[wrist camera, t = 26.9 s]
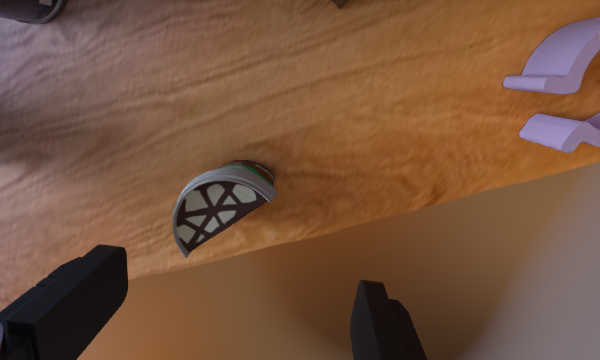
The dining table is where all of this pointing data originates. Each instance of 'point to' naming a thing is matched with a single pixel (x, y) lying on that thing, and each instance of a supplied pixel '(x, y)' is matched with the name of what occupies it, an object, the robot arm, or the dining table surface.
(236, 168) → the food container
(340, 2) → the box
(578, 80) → the clip
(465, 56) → the dining table surface
